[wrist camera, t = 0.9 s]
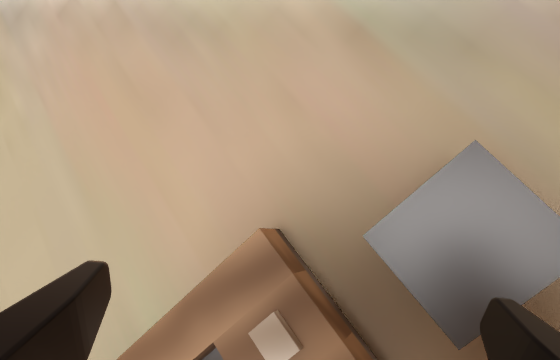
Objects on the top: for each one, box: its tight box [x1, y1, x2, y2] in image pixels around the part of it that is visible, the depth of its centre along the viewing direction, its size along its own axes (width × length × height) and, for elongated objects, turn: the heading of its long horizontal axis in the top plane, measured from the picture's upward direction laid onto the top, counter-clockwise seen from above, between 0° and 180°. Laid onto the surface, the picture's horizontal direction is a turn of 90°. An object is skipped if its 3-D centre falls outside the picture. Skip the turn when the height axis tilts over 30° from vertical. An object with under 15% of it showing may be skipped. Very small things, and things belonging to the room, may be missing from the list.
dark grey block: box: [363, 140, 560, 350], centre depth 19 cm, size 6×6×7 cm
